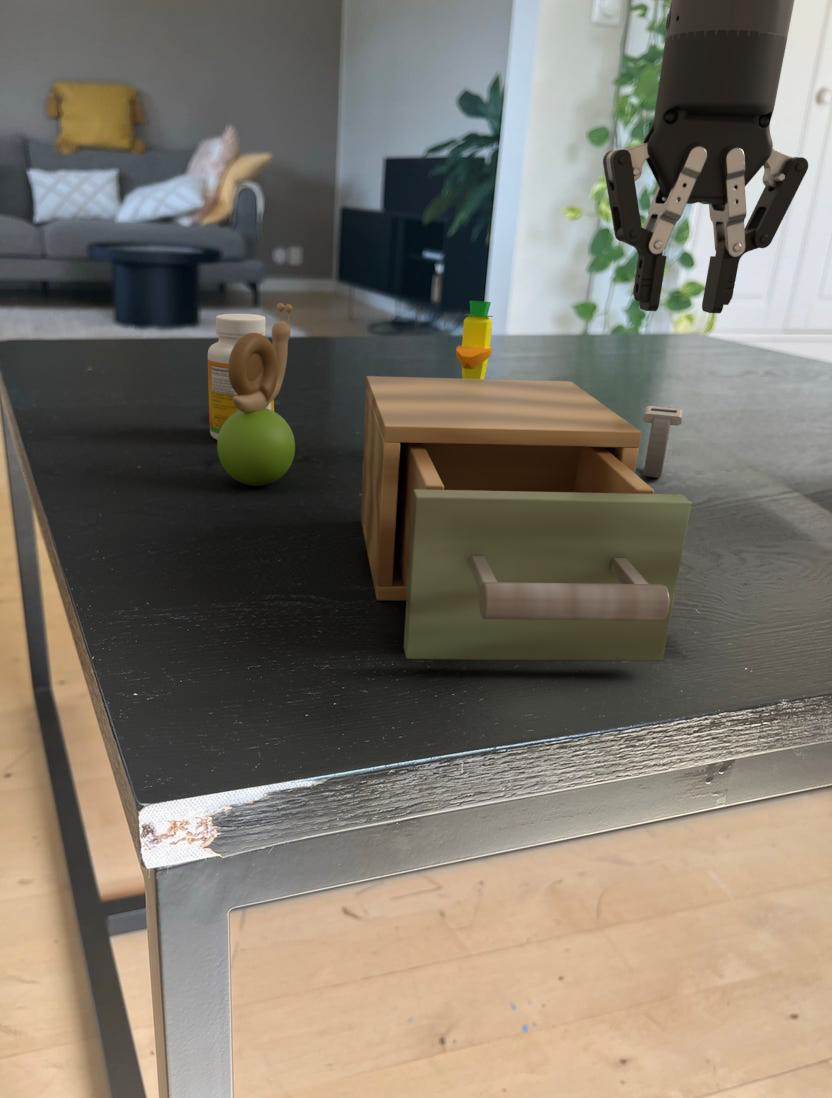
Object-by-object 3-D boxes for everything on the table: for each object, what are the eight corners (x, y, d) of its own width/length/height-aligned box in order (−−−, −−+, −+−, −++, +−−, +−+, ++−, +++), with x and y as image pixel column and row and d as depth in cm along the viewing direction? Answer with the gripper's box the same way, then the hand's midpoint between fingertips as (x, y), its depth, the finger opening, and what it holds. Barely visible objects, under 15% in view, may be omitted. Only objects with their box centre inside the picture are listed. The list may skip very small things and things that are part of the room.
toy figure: (481, 471, 75) (495, 307, 70) (435, 467, 76) (446, 304, 71) (492, 451, 81) (506, 298, 76) (449, 447, 82) (461, 295, 77)
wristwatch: (670, 488, 73) (682, 420, 71) (632, 484, 74) (642, 417, 72) (672, 468, 78) (683, 405, 76) (636, 464, 79) (646, 401, 77)
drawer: (704, 716, 39) (741, 541, 36) (418, 714, 38) (431, 536, 35) (586, 563, 55) (605, 432, 52) (383, 560, 54) (389, 427, 51)
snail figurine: (316, 479, 72) (320, 306, 67) (265, 500, 67) (265, 314, 62) (255, 467, 74) (254, 299, 69) (202, 486, 69) (197, 307, 64)
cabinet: (614, 603, 52) (641, 431, 48) (376, 601, 51) (384, 425, 47) (553, 523, 64) (571, 381, 60) (360, 520, 63) (366, 375, 60)
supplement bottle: (235, 426, 86) (234, 310, 82) (286, 435, 84) (287, 316, 80) (196, 437, 82) (192, 316, 78) (248, 447, 80) (247, 322, 76)
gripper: (636, 19, 60) (597, 314, 67) (862, 30, 61) (800, 320, 68) (601, 36, 67) (569, 302, 74) (805, 45, 67) (754, 308, 75)
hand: (680, 309), depth 71 cm, fingers open, 4 cm apart
